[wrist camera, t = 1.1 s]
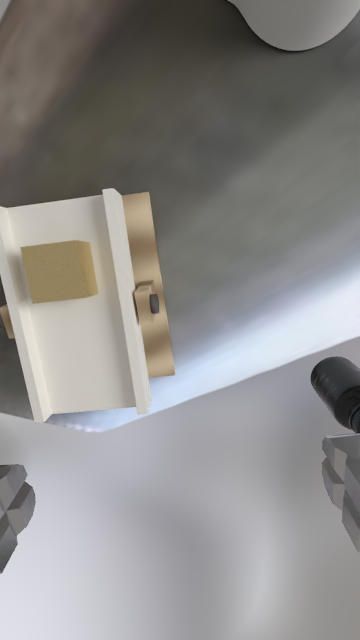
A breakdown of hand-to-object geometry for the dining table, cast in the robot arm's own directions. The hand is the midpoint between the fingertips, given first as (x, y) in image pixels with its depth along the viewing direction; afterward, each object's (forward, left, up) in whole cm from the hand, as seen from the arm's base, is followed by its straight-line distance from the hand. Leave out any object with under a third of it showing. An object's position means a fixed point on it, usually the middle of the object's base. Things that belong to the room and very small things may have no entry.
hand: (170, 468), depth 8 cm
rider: (-2, -14, -28) cm, 31 cm away
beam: (+3, -14, -28) cm, 31 cm away
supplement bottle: (+19, +20, -34) cm, 44 cm away
